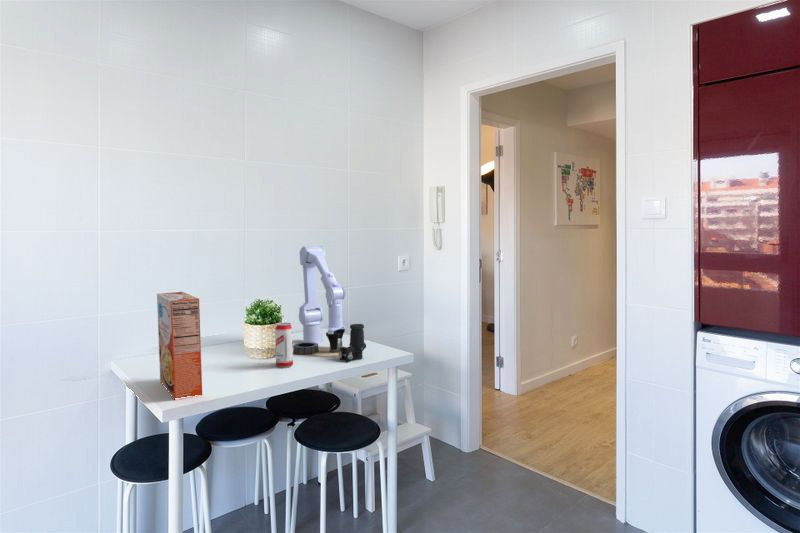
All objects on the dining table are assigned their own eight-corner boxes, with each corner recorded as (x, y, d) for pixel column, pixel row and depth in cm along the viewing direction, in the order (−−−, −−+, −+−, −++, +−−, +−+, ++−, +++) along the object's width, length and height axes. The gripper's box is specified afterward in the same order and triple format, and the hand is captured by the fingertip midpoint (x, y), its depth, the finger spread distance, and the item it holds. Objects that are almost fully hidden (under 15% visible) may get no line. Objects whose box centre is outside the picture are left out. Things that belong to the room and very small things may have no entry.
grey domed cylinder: (332, 349, 211) (331, 337, 211) (343, 350, 210) (343, 337, 210) (328, 352, 206) (328, 340, 206) (340, 352, 206) (339, 340, 205)
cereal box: (160, 382, 169) (156, 293, 167) (185, 377, 173) (182, 291, 171) (174, 400, 150) (170, 301, 148) (202, 395, 155) (199, 298, 153)
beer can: (287, 363, 192) (286, 321, 191) (296, 366, 188) (295, 323, 187) (272, 366, 188) (271, 323, 187) (281, 369, 184) (280, 326, 183)
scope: (337, 325, 195) (359, 322, 201) (338, 360, 196) (359, 356, 202) (349, 328, 189) (371, 325, 195) (349, 364, 190) (371, 360, 196)
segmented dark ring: (298, 348, 213) (298, 341, 213) (321, 349, 212) (321, 342, 211) (289, 354, 203) (289, 347, 203) (313, 355, 202) (313, 348, 202)
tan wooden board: (301, 347, 219) (301, 345, 219) (354, 348, 215) (354, 347, 215) (285, 357, 202) (285, 355, 202) (343, 359, 198) (343, 357, 198)
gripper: (339, 318, 200) (340, 352, 201) (349, 313, 214) (349, 344, 215) (322, 318, 201) (323, 351, 202) (333, 312, 215) (334, 343, 216)
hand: (335, 348), depth 208 cm, fingers closed on grey domed cylinder, 5 cm apart
